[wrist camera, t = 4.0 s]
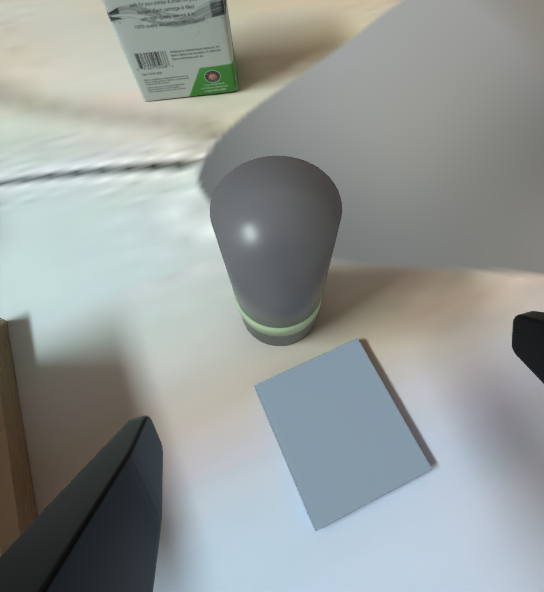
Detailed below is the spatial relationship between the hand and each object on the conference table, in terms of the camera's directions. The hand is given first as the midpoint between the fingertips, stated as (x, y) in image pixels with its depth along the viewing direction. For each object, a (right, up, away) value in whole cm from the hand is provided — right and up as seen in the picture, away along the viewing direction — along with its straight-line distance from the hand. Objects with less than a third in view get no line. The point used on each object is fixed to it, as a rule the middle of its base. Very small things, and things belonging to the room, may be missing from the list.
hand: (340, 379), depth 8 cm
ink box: (-9, +22, +25) cm, 34 cm away
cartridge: (-1, +1, +15) cm, 15 cm away
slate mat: (+2, -6, +12) cm, 14 cm away
